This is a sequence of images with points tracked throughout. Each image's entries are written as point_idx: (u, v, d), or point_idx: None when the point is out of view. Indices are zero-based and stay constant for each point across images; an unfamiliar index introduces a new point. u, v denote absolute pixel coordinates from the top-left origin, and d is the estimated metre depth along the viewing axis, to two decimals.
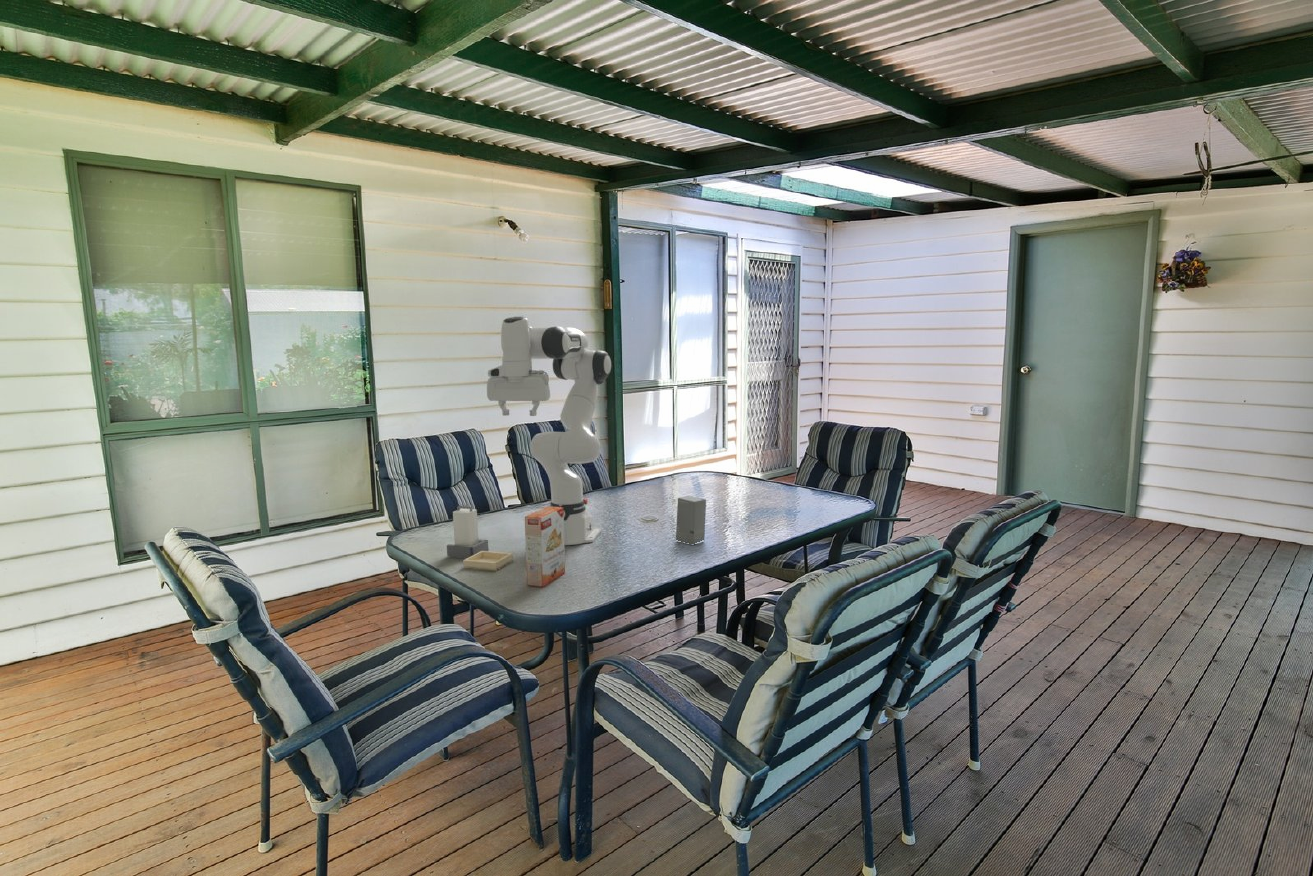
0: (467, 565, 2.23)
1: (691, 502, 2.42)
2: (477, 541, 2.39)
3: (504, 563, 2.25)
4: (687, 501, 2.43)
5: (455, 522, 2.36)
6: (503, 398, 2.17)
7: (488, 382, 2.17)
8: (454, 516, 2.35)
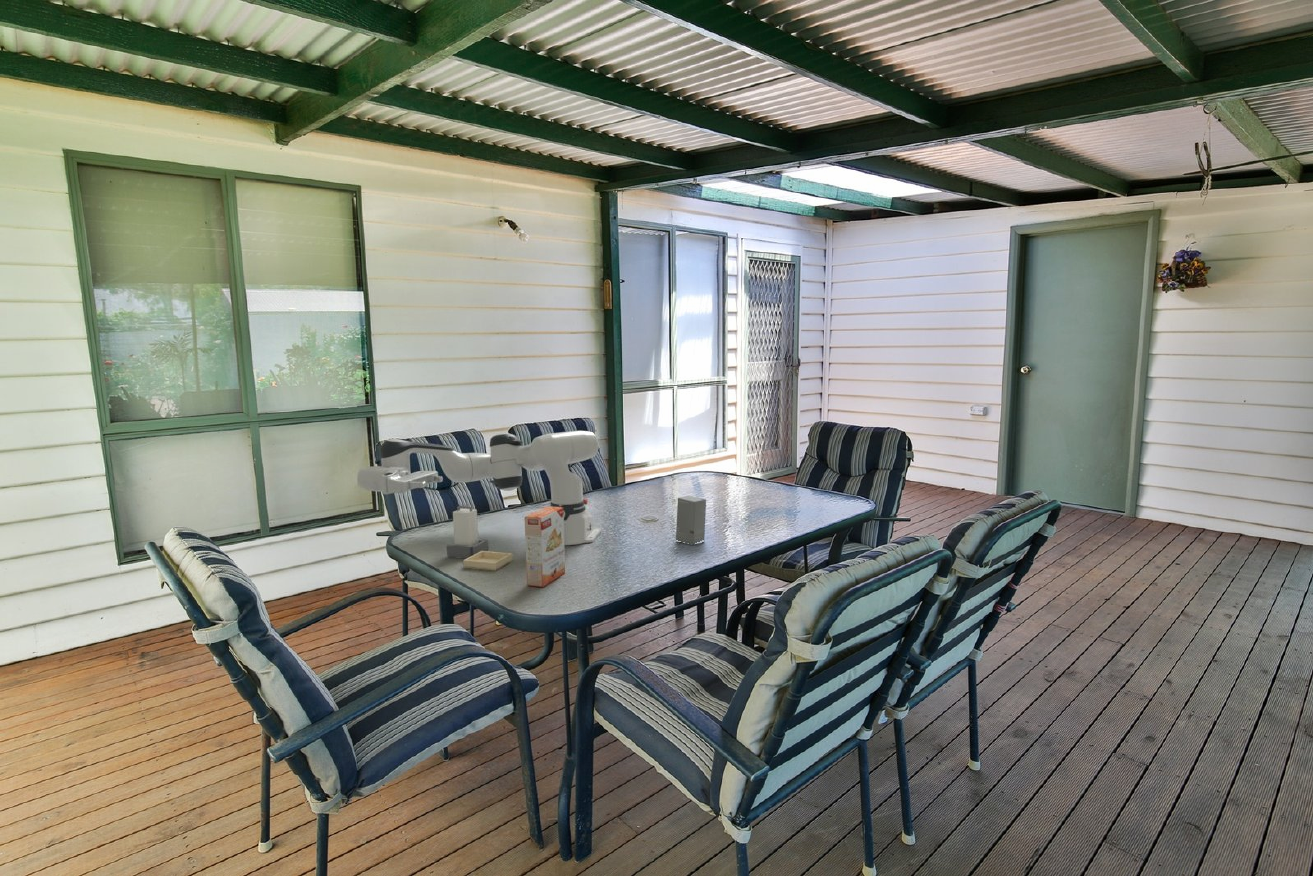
0: (467, 565, 2.23)
1: (691, 502, 2.42)
2: (477, 541, 2.39)
3: (504, 563, 2.25)
4: (687, 501, 2.43)
5: (455, 522, 2.36)
6: (411, 478, 2.37)
7: (389, 478, 2.34)
8: (454, 516, 2.36)
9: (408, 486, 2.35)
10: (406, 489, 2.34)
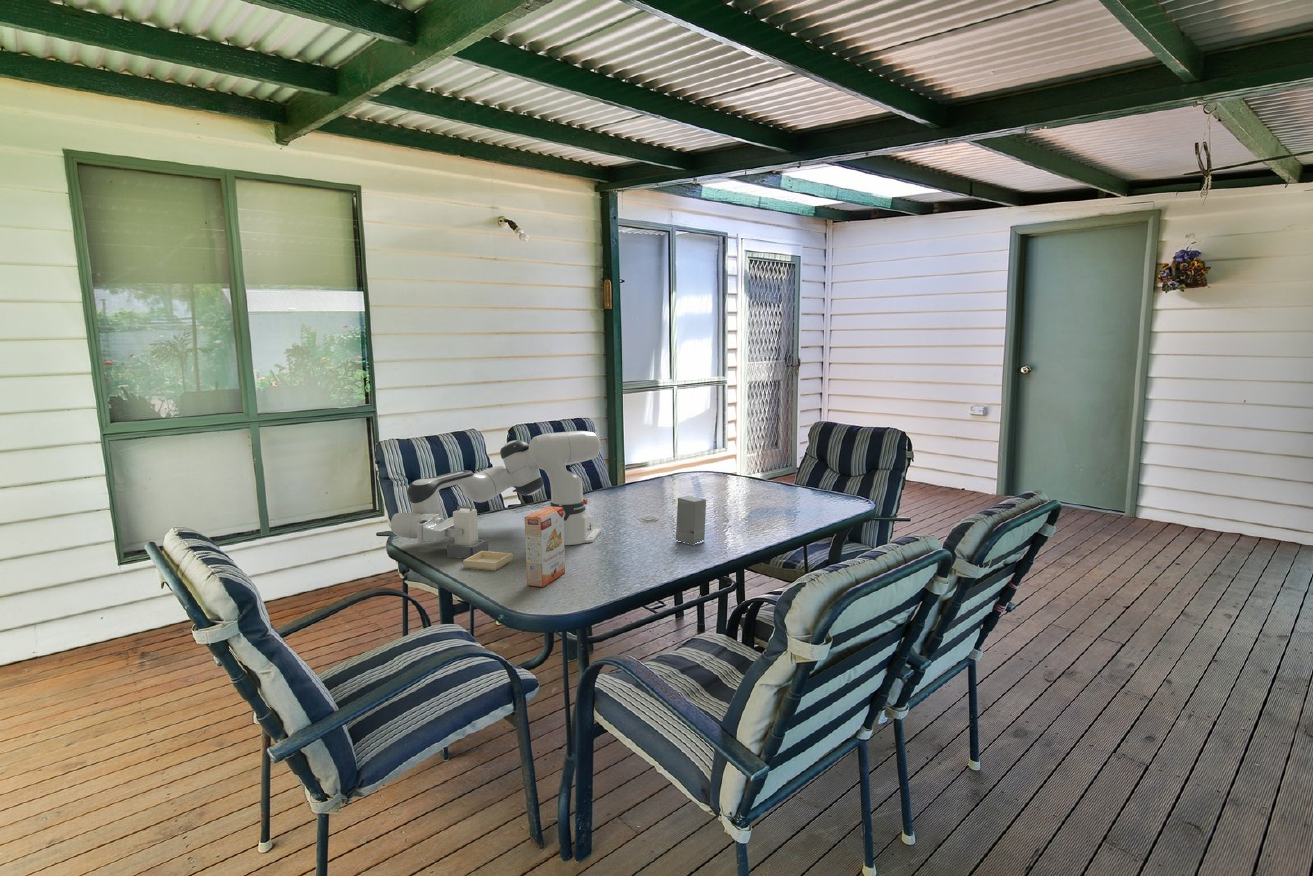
0: (467, 565, 2.23)
1: (691, 502, 2.42)
2: (477, 541, 2.39)
3: (504, 563, 2.25)
4: (687, 501, 2.43)
5: (455, 522, 2.36)
6: (446, 526, 2.35)
7: (425, 527, 2.32)
8: (454, 516, 2.36)
9: (444, 534, 2.32)
10: (442, 538, 2.32)
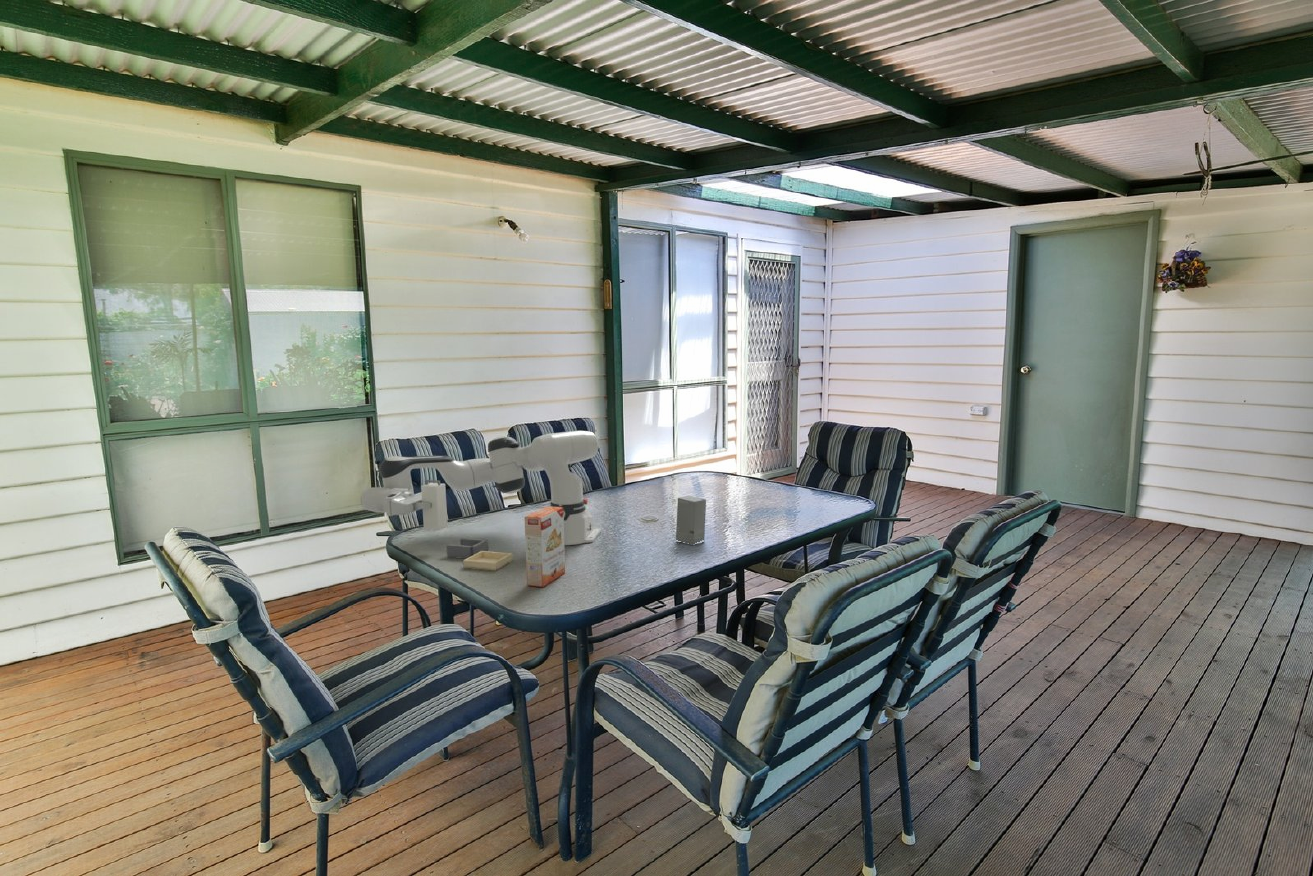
0: (467, 565, 2.23)
1: (691, 502, 2.42)
2: (445, 515, 2.42)
3: (504, 563, 2.25)
4: (687, 501, 2.43)
5: (423, 496, 2.38)
6: (414, 500, 2.37)
7: (393, 500, 2.35)
8: (422, 490, 2.38)
9: (412, 508, 2.35)
10: (410, 511, 2.34)
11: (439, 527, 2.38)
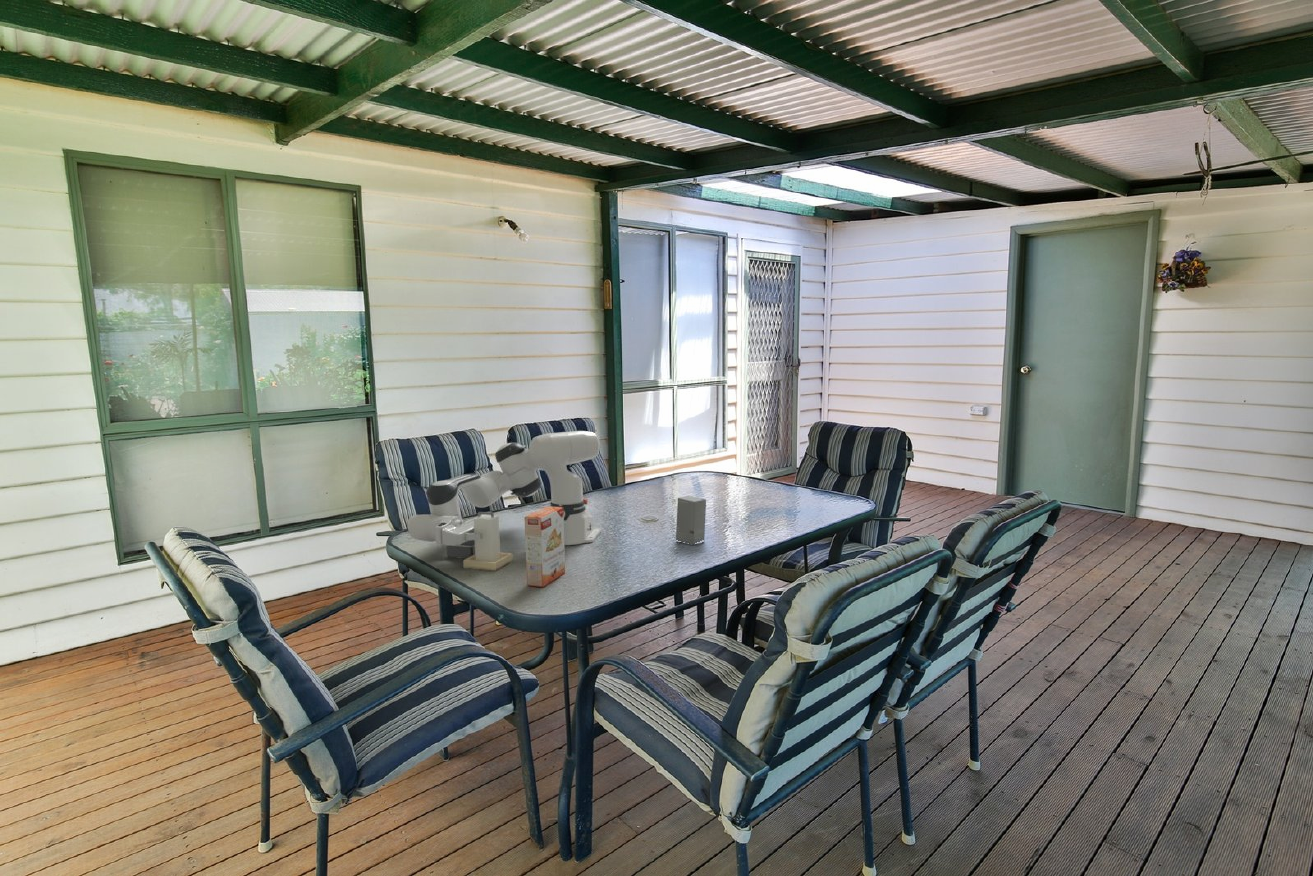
0: (467, 565, 2.23)
1: (691, 502, 2.42)
2: (498, 549, 2.27)
3: (504, 563, 2.25)
4: (687, 501, 2.43)
5: (476, 529, 2.24)
6: (466, 529, 2.23)
7: (444, 530, 2.20)
8: (475, 523, 2.24)
9: (464, 538, 2.21)
10: (462, 541, 2.20)
11: None
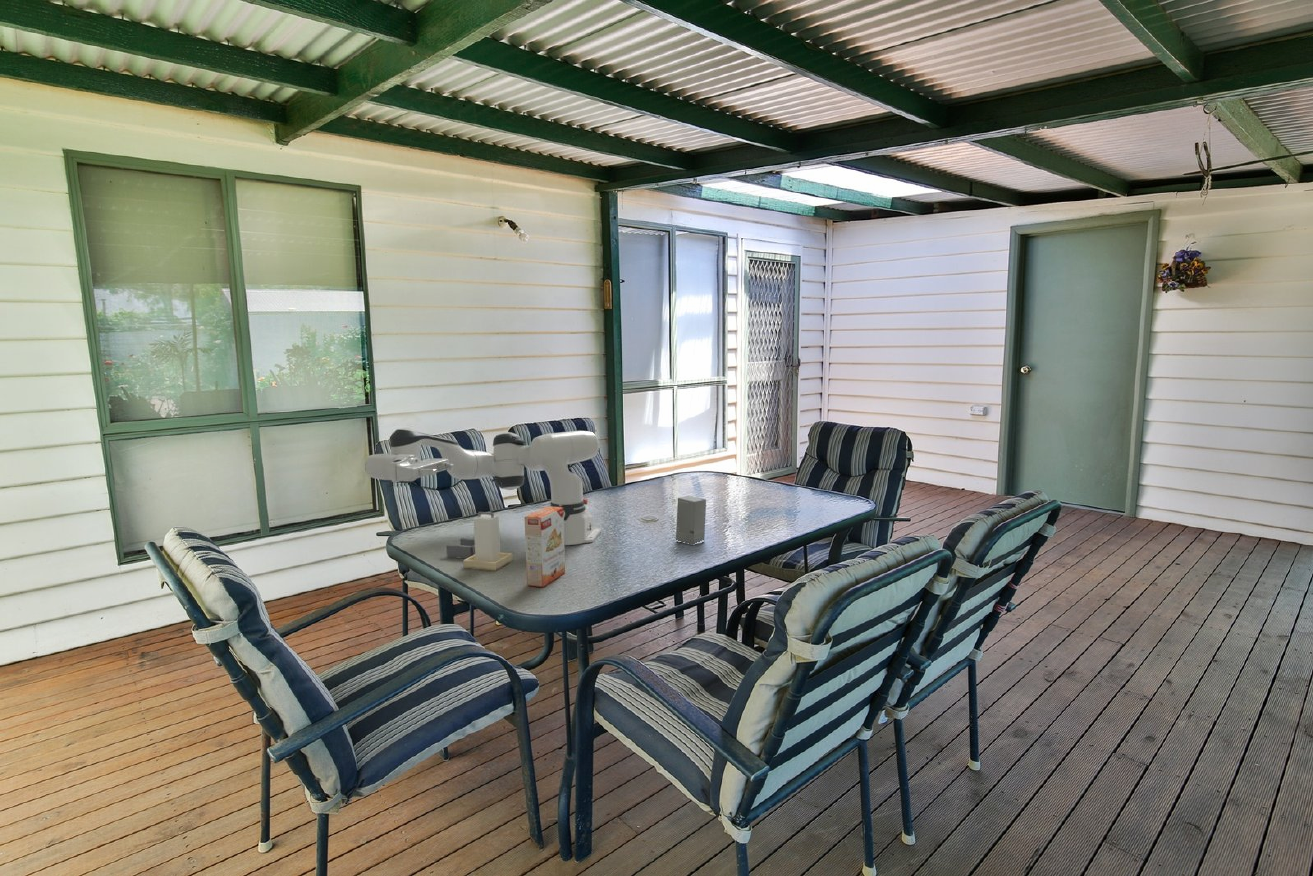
0: (467, 565, 2.23)
1: (691, 502, 2.42)
2: (498, 549, 2.27)
3: (504, 563, 2.25)
4: (687, 501, 2.43)
5: (476, 529, 2.24)
6: (421, 465, 2.28)
7: (399, 465, 2.25)
8: (475, 523, 2.24)
9: (418, 473, 2.25)
10: (416, 476, 2.24)
11: None
